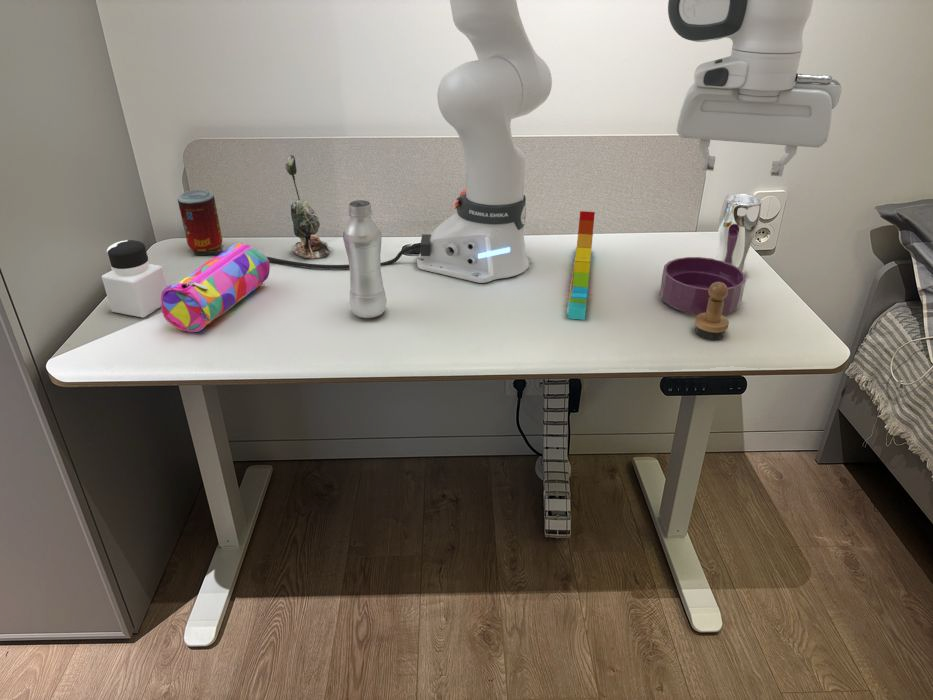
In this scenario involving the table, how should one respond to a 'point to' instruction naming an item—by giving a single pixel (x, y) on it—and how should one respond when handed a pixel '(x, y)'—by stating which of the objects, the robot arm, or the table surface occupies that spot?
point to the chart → (581, 267)
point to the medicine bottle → (133, 280)
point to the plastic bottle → (364, 261)
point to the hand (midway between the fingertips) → (741, 172)
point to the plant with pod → (305, 223)
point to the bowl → (700, 284)
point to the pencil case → (214, 287)
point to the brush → (713, 314)
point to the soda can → (200, 220)
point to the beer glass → (737, 228)
